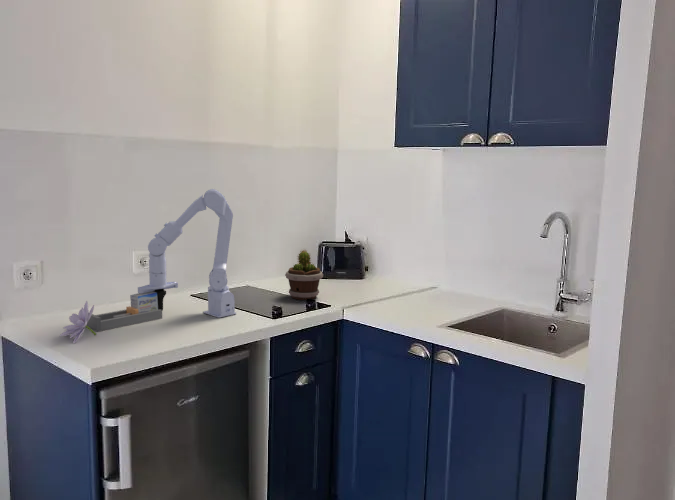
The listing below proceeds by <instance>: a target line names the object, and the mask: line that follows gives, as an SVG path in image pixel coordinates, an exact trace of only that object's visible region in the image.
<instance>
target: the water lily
mask: <svg viewBox="0 0 675 500" xmlns="http://www.w3.org/2000/svg"><path fill="white" fill-rule="evenodd" d="M94 309H95V305H94V304H93V305H92V307H91V308H90V310H89V304H88V300H86V301H85V303H84V305H83V307H81V309H79V311H78V314H77V313H72V314H71V315H70V316H69V318H68V319H69V321H70V323H72V324H70V325H65V326H64V327H63V329H65V330H64V331H63V332H62V333H61V334H59V337H64V336H65V337H67V336H70V337H69V339H71V338H73V337H74V339H73V342H72V343H73V344H76V342H78V341H79V339H80V338H81V337H82V336H83V334H84V331H85V329H87V330H88V331H89V332H90V333H92V335H93V336H96V335H97V333H96V331H95V330H93V329H90V328H89V327H88V326H87V322H88V321H89V319H90V317H91V315H92V314H93V312H94ZM88 315H89V316H88Z"/></svg>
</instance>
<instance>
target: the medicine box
mask: <svg viewBox="0 0 675 500" xmlns="http://www.w3.org/2000/svg"><path fill="white" fill-rule="evenodd" d="M130 307H133V308H136V309H138V311H139V313H144V312H149V311H154V310H158V300H157V293H156V292H153V291H151V292H145V293H142V294H140V293H138V292H137V293H134V294H130Z"/></svg>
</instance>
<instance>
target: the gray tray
mask: <svg viewBox="0 0 675 500" xmlns="http://www.w3.org/2000/svg"><path fill="white" fill-rule="evenodd" d="M121 314H127V311H126V309H122V310H115V311H111V312H105V313H100V314H93V313H92V315H91V317H90V319H89V321H88V322H87V326H88V327H89V328H90V329H92V330H93V331H94V332H103V331H108V330H112V329H113V330H114V329H117V328H121V327H127V326H131V325H137V324H141V323H146V322H153V321H157V320H161V319H163V311H162V310H161V309H159V310H154V311H149V312H144V313H138V314H133V315H128V316H123V317H117V318H113V316H116V315H121ZM88 316H89V315H88Z"/></svg>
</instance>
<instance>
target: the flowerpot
mask: <svg viewBox="0 0 675 500" xmlns="http://www.w3.org/2000/svg"><path fill="white" fill-rule="evenodd" d="M296 257H297V258H296V260H297V262H296V264H295V263H293V266H291V267H290V268H289V269H288V270H287V271H286V272H285V274H284V277H285V278H286V279H287V280H288V284H289V289H288V293H289V295H290V297H291V298H292V299H294V300H299V301H303V300H305V301H308V300H307V299H309V300H310V299H311V300H315V299H316V298H317V296H319V294H320V290H319V285H320V280H322V279H323V277H324V274H323V272H322V271H321V269H320V267H316V265H315V263H313V262H312V259H311V257H312V256H311V253H310V252H308V250H307V249H300V251H299V253H298V254H297V256H296Z"/></svg>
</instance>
